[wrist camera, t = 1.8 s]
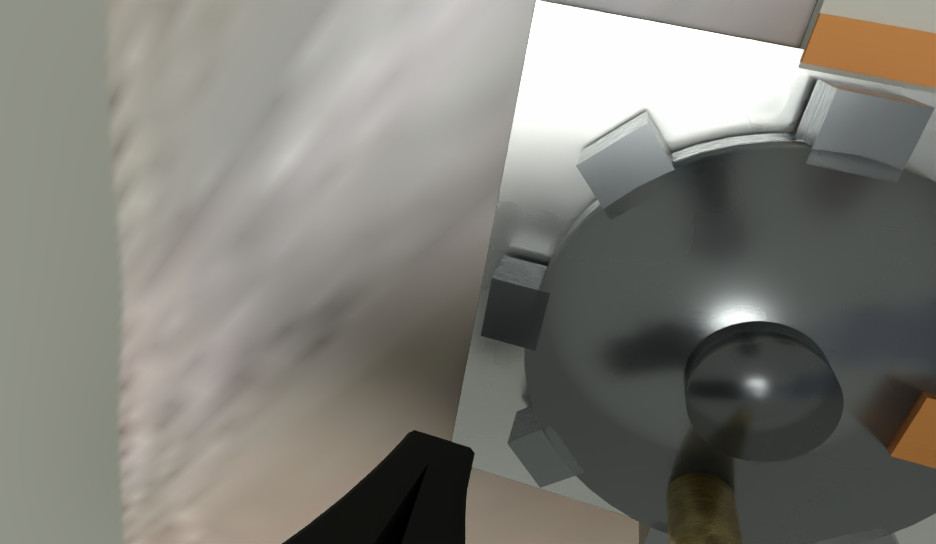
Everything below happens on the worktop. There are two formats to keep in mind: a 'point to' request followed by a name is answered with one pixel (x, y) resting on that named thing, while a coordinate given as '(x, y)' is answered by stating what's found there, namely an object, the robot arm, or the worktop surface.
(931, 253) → the sprocket
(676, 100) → the sprocket plate
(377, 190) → the worktop surface
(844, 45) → the pad
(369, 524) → the robot arm
